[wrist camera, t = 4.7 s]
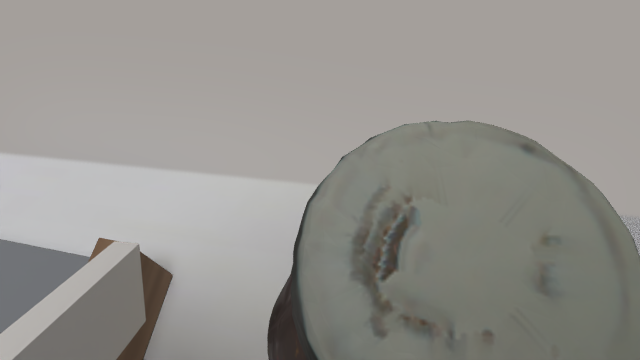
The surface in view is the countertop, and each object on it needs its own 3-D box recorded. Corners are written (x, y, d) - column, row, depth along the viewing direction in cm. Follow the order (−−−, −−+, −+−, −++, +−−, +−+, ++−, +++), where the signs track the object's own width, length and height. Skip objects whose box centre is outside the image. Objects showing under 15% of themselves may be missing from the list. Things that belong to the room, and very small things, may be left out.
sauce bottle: (268, 345, 23) (52, 195, 5) (353, 272, 24) (418, -34, 7) (347, 455, 20) (472, 912, 3) (435, 366, 22) (872, 278, 4)
